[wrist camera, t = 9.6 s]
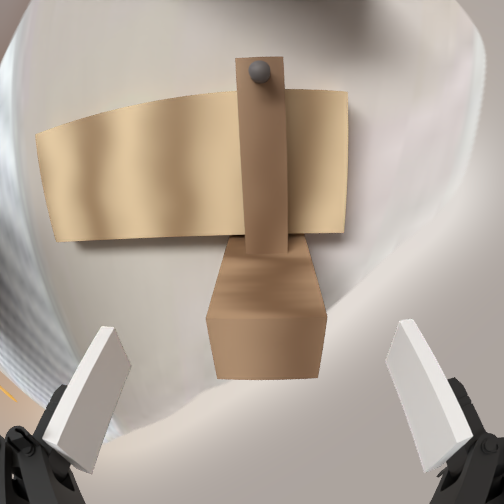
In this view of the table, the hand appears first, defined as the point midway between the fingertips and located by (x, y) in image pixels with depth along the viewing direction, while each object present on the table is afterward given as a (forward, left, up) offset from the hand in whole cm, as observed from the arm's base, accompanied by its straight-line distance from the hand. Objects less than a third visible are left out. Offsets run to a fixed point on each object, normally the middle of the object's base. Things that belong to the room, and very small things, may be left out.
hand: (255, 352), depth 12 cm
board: (-6, +7, -10) cm, 13 cm away
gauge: (0, +5, -10) cm, 11 cm away
